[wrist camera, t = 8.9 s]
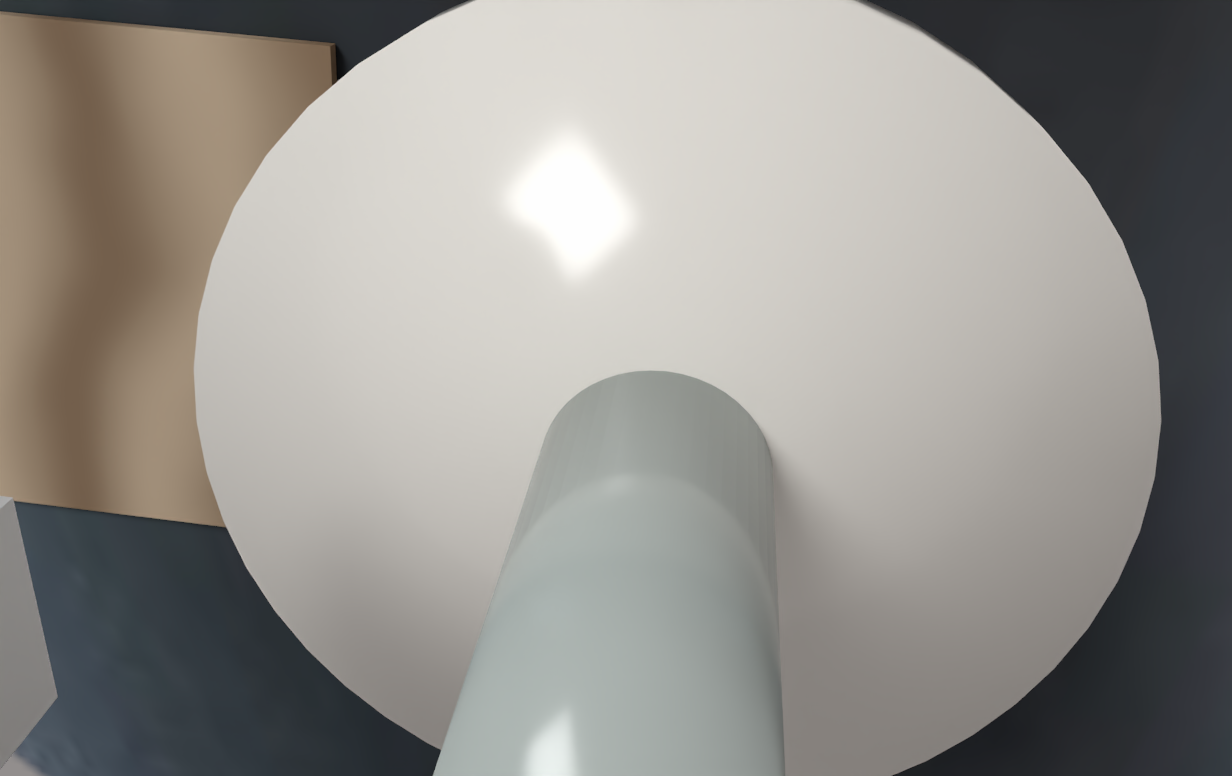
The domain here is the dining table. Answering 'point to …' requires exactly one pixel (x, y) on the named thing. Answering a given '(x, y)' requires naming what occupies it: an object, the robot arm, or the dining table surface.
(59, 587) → the dining table surface
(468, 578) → the lid
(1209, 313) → the dining table surface
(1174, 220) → the dining table surface
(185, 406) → the mat
